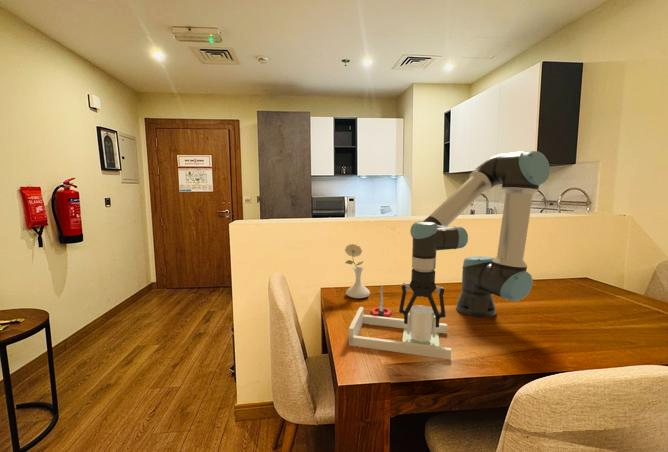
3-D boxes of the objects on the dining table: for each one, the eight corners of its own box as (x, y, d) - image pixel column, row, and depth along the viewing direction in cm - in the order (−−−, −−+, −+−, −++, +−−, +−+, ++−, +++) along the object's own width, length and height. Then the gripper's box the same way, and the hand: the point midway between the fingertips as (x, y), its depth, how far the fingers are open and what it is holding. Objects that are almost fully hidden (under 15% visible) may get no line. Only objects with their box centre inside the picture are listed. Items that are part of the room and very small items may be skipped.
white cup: (406, 332, 112) (406, 305, 111) (427, 331, 113) (428, 304, 112) (413, 343, 105) (414, 314, 103) (436, 342, 105) (438, 313, 104)
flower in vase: (374, 294, 154) (374, 243, 150) (363, 302, 144) (363, 248, 141) (350, 290, 160) (350, 241, 157) (338, 296, 151) (338, 244, 148)
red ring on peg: (371, 309, 138) (370, 317, 128) (372, 279, 136) (371, 285, 127) (391, 310, 136) (391, 318, 127) (392, 280, 135) (392, 286, 126)
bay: (446, 331, 116) (447, 316, 115) (450, 359, 97) (451, 341, 97) (359, 321, 124) (359, 306, 123) (348, 345, 106) (348, 328, 105)
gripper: (455, 268, 106) (452, 332, 109) (393, 264, 112) (391, 325, 115) (457, 274, 99) (453, 343, 102) (391, 269, 105) (389, 335, 108)
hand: (420, 334), depth 109 cm, fingers closed on white cup, 8 cm apart
